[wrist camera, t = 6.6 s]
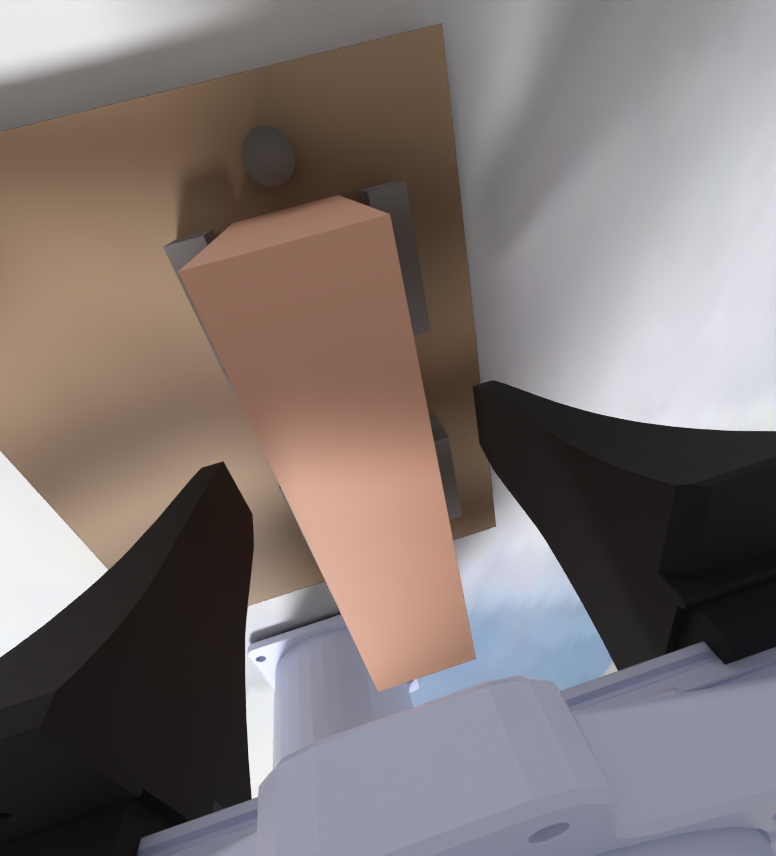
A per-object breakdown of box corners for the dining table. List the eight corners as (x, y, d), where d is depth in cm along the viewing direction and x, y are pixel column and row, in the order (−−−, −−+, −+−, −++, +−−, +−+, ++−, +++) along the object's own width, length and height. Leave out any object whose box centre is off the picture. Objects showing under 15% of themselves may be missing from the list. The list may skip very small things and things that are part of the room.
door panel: (414, 503, 18) (476, 659, 12) (348, 523, 18) (378, 691, 12) (337, 194, 12) (390, 214, 6) (233, 222, 12) (178, 271, 6)
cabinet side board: (485, 509, 21) (509, 549, 19) (171, 609, 20) (156, 664, 18) (428, 36, 11) (463, 2, 9) (-186, 188, 10) (-318, 192, 8)
